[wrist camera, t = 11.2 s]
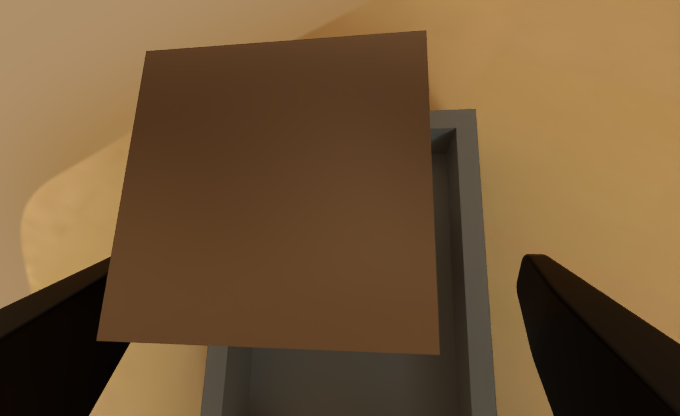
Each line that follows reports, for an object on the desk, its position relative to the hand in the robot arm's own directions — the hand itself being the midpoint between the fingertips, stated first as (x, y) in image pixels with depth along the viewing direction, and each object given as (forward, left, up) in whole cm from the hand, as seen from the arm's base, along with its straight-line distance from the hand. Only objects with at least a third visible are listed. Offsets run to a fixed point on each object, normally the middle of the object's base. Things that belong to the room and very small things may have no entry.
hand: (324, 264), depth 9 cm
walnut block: (+1, 0, -8) cm, 8 cm away
